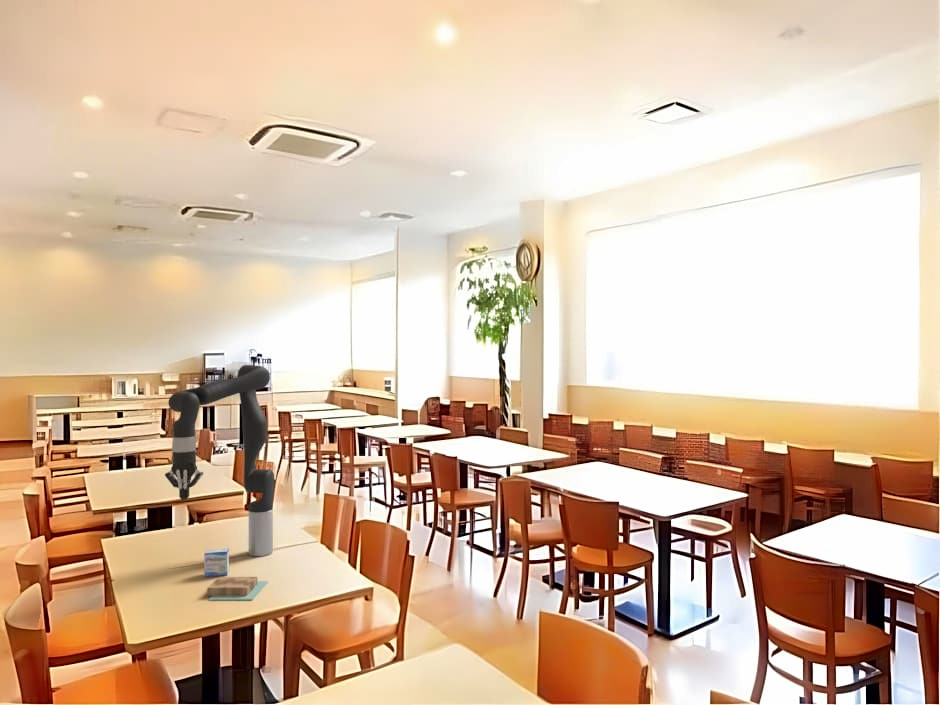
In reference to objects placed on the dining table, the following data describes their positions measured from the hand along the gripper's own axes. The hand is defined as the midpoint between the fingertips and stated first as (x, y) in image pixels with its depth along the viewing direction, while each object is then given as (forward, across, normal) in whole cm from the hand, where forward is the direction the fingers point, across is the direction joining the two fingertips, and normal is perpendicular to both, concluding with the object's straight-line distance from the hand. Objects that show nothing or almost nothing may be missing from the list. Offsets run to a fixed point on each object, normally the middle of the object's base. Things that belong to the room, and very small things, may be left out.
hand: (184, 499), depth 219 cm
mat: (+29, -22, +8) cm, 37 cm away
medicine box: (+29, -8, -8) cm, 31 cm away
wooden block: (+27, -13, +8) cm, 31 cm away
